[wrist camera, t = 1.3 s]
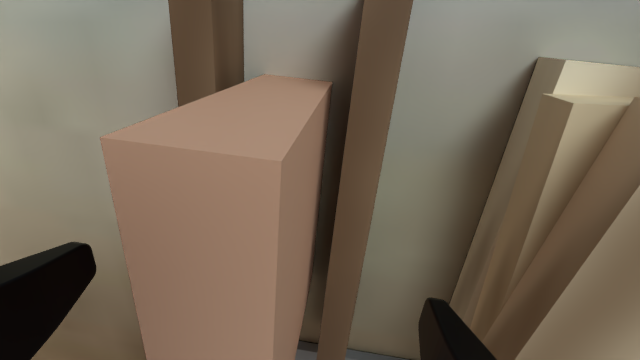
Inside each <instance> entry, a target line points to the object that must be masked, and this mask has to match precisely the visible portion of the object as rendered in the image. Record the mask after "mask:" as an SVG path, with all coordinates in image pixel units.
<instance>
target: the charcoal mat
mask: <svg viewBox="0 0 640 360" xmlns="http://www.w3.org/2000/svg"><path fill="white" fill-rule="evenodd" d="M317 351H318V344H315V343H309V342H303V341H298V346H297V351H296V356H295V360H316V359H317ZM345 360H408V359H402V358H396V357H391V356H385V355H379V354H373V353H367V352H361V351H355V350H350V349H347V351H346V356H345Z"/></svg>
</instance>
